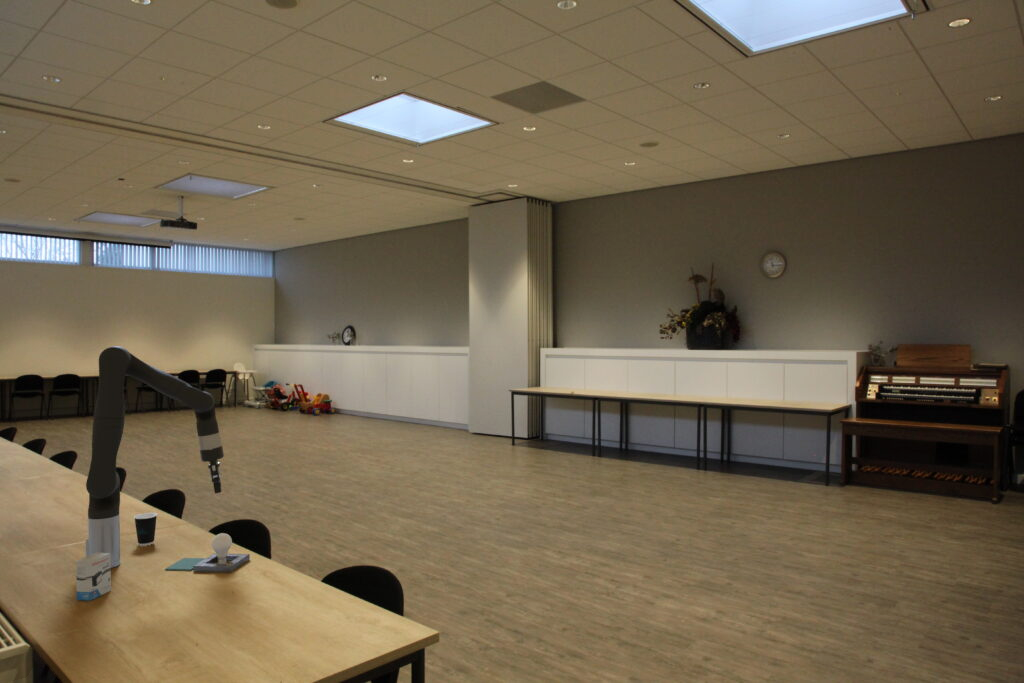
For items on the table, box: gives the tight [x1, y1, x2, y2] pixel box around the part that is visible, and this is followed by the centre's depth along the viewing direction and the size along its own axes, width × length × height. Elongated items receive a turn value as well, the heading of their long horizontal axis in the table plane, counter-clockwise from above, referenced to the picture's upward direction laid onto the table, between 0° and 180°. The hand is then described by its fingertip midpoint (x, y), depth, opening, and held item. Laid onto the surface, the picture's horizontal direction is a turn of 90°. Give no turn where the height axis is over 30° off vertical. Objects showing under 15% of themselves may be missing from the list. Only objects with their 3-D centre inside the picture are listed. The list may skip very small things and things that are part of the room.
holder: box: [192, 552, 250, 574], centre depth 233 cm, size 13×13×2 cm
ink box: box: [75, 553, 112, 602], centre depth 208 cm, size 8×5×12 cm, turn 168°
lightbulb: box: [211, 532, 233, 564], centre depth 233 cm, size 6×6×11 cm
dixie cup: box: [133, 512, 158, 547], centre depth 258 cm, size 8×8×11 cm
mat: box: [165, 557, 207, 572], centre depth 234 cm, size 9×11×1 cm
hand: (218, 490), depth 248 cm, fingers open, 8 cm apart
